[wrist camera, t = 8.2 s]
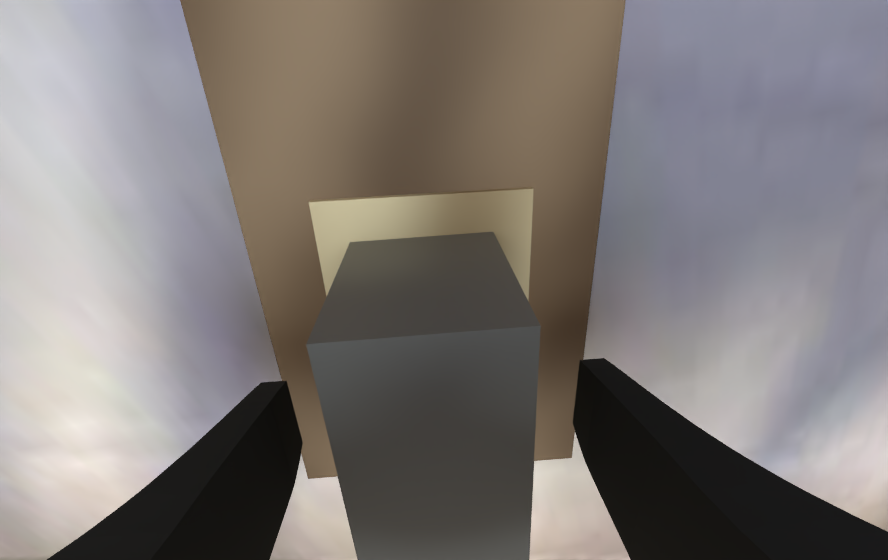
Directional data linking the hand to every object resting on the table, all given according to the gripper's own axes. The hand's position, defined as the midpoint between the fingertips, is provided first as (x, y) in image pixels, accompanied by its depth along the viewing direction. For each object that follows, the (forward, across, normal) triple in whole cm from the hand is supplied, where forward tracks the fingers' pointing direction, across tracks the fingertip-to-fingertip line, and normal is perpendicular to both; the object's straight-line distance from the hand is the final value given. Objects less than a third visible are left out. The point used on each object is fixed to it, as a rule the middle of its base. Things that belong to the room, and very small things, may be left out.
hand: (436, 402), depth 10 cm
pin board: (+4, 0, -4) cm, 6 cm away
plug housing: (+3, 0, 0) cm, 3 cm away
